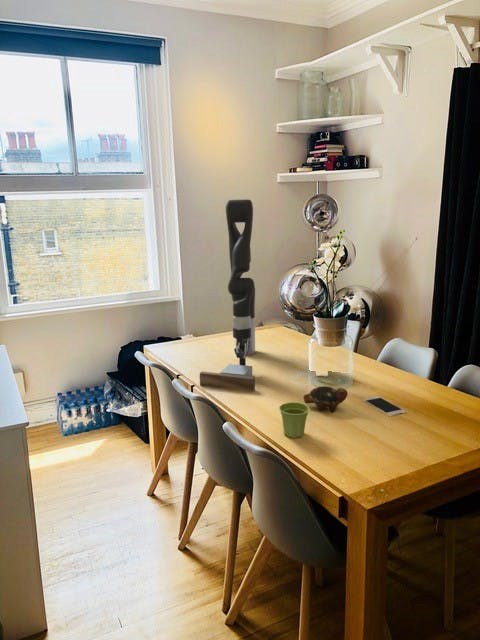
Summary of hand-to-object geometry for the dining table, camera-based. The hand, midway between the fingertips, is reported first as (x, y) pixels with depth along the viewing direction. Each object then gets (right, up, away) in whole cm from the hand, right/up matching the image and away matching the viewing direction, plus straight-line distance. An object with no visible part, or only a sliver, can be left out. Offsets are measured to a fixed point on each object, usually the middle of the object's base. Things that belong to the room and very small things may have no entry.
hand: (242, 366), depth 217 cm
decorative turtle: (+28, -12, -36) cm, 47 cm away
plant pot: (+16, -16, -55) cm, 60 cm away
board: (-6, -7, -15) cm, 18 cm away
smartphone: (+49, -11, -35) cm, 62 cm away
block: (-2, -5, -5) cm, 8 cm away
